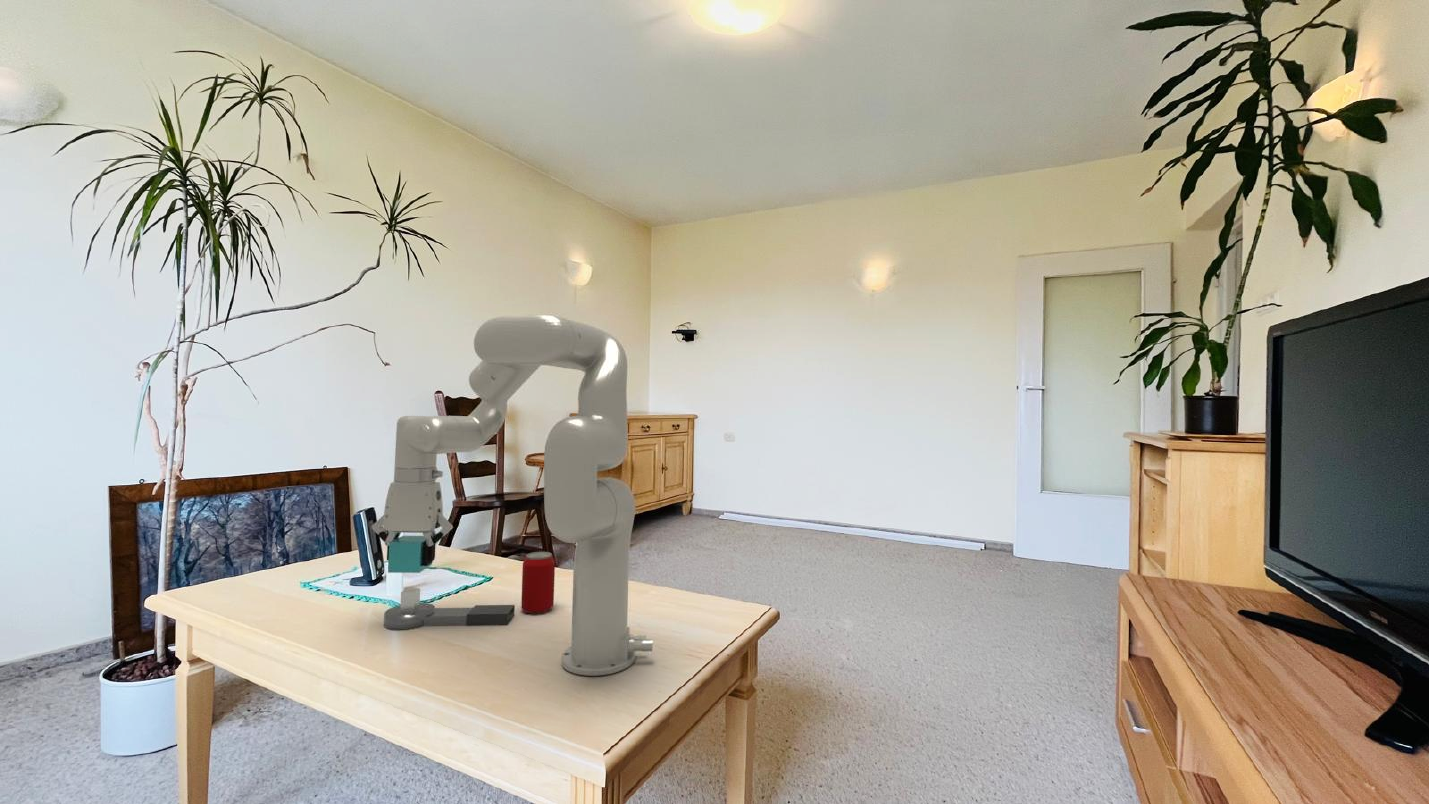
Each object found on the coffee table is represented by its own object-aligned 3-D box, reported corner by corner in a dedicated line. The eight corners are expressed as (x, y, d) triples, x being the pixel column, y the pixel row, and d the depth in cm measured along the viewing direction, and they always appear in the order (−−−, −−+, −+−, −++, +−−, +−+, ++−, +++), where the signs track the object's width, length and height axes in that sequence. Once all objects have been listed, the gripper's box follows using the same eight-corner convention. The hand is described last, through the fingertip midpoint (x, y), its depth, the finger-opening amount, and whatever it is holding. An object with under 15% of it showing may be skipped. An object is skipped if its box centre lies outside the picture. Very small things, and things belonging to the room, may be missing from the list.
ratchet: (516, 613, 117) (517, 582, 118) (504, 629, 109) (505, 596, 109) (396, 615, 115) (398, 583, 115) (374, 631, 106) (376, 597, 106)
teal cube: (432, 564, 115) (433, 535, 115) (419, 572, 109) (421, 542, 109) (402, 564, 114) (403, 535, 114) (387, 572, 108) (389, 542, 108)
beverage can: (558, 605, 122) (559, 551, 123) (546, 616, 116) (547, 559, 116) (529, 604, 123) (531, 550, 123) (515, 614, 116) (517, 557, 117)
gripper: (465, 475, 117) (461, 559, 116) (380, 473, 115) (375, 559, 114) (452, 479, 109) (447, 569, 109) (360, 477, 107) (355, 569, 107)
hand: (410, 563), depth 112 cm, fingers closed on teal cube, 6 cm apart
